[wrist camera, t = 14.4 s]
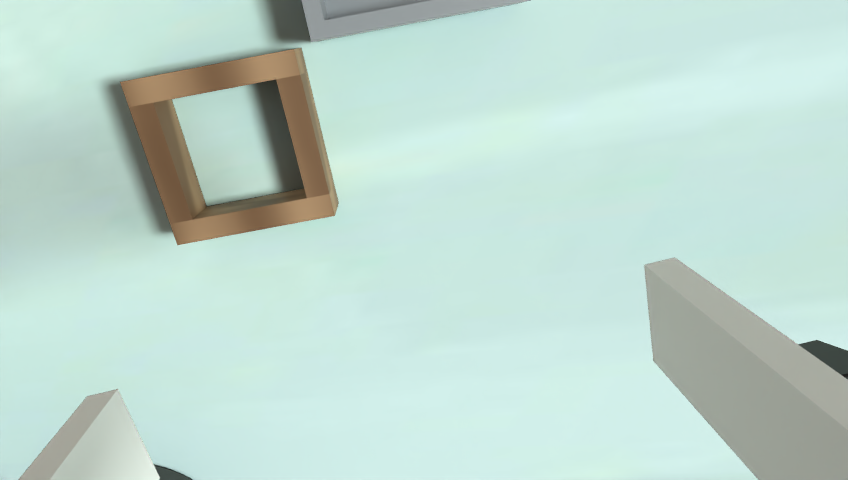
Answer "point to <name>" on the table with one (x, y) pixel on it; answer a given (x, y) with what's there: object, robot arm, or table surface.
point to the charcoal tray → (382, 14)
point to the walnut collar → (174, 161)
